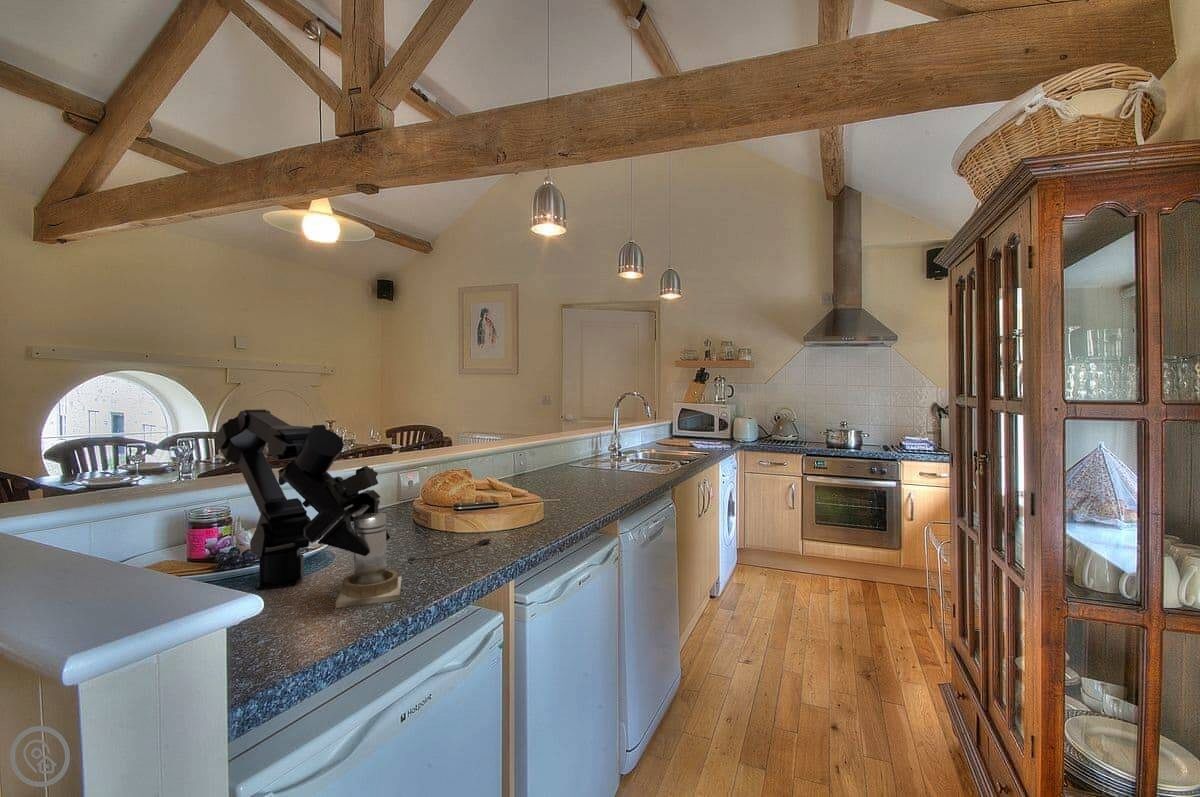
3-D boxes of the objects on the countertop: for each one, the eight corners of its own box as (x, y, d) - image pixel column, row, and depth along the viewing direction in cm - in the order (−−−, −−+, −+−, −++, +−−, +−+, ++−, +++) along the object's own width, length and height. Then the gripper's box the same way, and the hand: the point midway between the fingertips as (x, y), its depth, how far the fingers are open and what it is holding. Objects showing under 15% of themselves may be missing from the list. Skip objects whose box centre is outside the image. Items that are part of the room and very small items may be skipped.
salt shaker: (351, 595, 91) (351, 520, 91) (355, 584, 96) (355, 514, 96) (385, 591, 93) (385, 518, 93) (387, 581, 98) (387, 512, 98)
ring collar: (335, 608, 88) (335, 590, 88) (344, 587, 98) (344, 571, 98) (399, 600, 92) (399, 583, 92) (401, 581, 101) (401, 565, 101)
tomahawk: (422, 573, 109) (422, 568, 109) (406, 563, 113) (406, 558, 113) (503, 549, 125) (503, 545, 125) (486, 542, 129) (486, 537, 129)
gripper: (322, 460, 85) (391, 527, 86) (369, 448, 104) (426, 504, 104) (273, 508, 85) (342, 576, 85) (329, 488, 104) (386, 544, 104)
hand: (378, 546), depth 95 cm, fingers open, 9 cm apart
